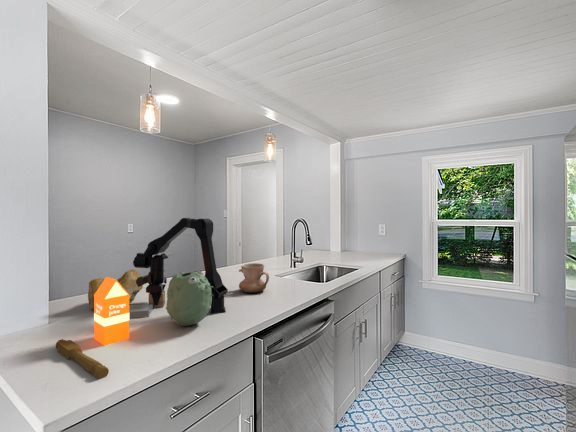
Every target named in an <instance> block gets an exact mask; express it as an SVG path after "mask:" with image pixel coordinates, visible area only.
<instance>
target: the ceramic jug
mask: <svg viewBox="0 0 576 432" xmlns="http://www.w3.org/2000/svg"><path fill="white" fill-rule="evenodd" d="M264 269H265V265H264V264H263V263H257V262H255V263H254V262H253V263H252V262H251V263H244V264H241V267H240V268H239V269H238V272H239V273H242V274H243V276H244V277H243V278H244V279H243V280H241V281H240V282H239V284H238V288H239V290H241V291H242V292H244V293H246V294H248V293H249V294H254V293H261V292H263V291H264V290H266V288H267V285H268V283H269V281H270V275H269V273H268V272H267V271H264ZM263 275H265V277H266V279H265V281H264V280H262V278H261V277H262V276H263Z"/></svg>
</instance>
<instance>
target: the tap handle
mask: <svg viewBox="0 0 576 432" xmlns="http://www.w3.org/2000/svg"><path fill="white" fill-rule="evenodd" d="M54 345H55V348H56V349H57V353H58V354H60V355H61V356H63V357H64V358H65V359H67V360H68V361H70V360H72V361H76V362H77V363H78V364H80V366H82V367H83V368H84V369H85V370H86V371H87V372H89V373H90V374H91V375H93V376H94V377H95V378H97V380H98V379H99V380H101V379H104V378H106V377H107V376H108V374H109V368H108V367H107V366H105V365H103V363H101V362H100V361H98V360H96V359H94V358H92V357H90V356H89V355H86V354H85V353H83V351H82V347H81V345H79V344H78V343H76V342H74V340H71V339H68V340H66V339H63V338H61V339H59V340H58V341H56V342H55V344H54Z"/></svg>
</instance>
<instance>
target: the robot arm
mask: <svg viewBox="0 0 576 432" xmlns="http://www.w3.org/2000/svg"><path fill="white" fill-rule="evenodd" d="M187 229H194V231H195V234H196V235H197V236H196V237H198V239H199V241H200V247H201V248H200V249H201V253H202V259H203V260H202V261H203V266H204V271H205V272H204V276H205V277H206V278H207V280H208V282H209V283H210V286H213V288H211V294H212V295H213V296H212V303H211V306H210V309H209V314H217V313H226V307H225V295H227V293H228V292H229V289H228V288H227V287H226V286H225V284H223V280H222V278H221V277H222V276H221V275H220V274H219V272H218V271H217V265H216V259H215V253H214V246H213V239H212V237H213V234H214V221H213V220H212V219H210V218H197V219H196V218H190V217H183V218H181V219H180V220H179V221H178V222H177V223H176V224H174V225H173V226H172V227H171V228H170V229H169V230H167V231H166V232H165V233H164V234H163V235H161V236H160V237H157V238H155V239H152V241H150V242H148V243H147V247H146V249H145V250H144V252H137V253H136V256H134V259H133V261H132V263H133V266H134V268H136V269H137V268H138V269H149V271H148V274H146V275H143V276H141V275H140V276H141V277H138V278H137V279H136V284H137V285H138V287H140V286H141V285H146V284H148V285H147V286H146V288H145V293H147V294H149V293H150V294H151V295H152V298H153V302H154V305H155V306H156V305H158V302H159V299H160V297H161V294H162V291H164V290H165V288H166V286H167V285H166V284H167V283H168V280H167V277H166V276H165V273H166V272H165V260H168V259H169V256H168V255H166V254H165V252H166V250H167V249H168V248H169V247H170V244H171V243H172V242H173V241H174V240H176V239H177V237H179V236H180V235H181V234H182V233H184V232H185V231H186V230H187Z"/></svg>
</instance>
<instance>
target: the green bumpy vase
mask: <svg viewBox="0 0 576 432" xmlns="http://www.w3.org/2000/svg"><path fill="white" fill-rule="evenodd" d="M211 288H213V286H210V283H209V282H208V280H207V278H206V277H205V275H204V273H203V271H201V270H198V271H196V272H194V271H193V272H192V271H190V272H183V271H181V272H179V273H175V274H174V275H172V277H171V279H170V280H169V282H168V288H167V290H166V307H165V310H166V311H167V314H168V315H169V316H170V318H171V319H172V320H173V321H174V322H175V323H177V324H178V325H181V326H184V327H188V326H193V325H196V324H198V323H200V322H201V321H203V320H204V319H205V318H206V316H207V315H208V313H209V312H210V308H211V303H212V296H213V295H212V294H211Z"/></svg>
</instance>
